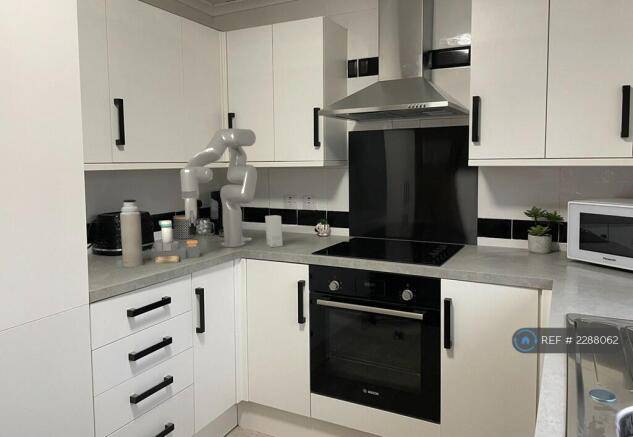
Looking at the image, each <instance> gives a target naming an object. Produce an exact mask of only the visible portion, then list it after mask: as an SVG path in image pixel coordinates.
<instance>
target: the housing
mask: <svg viewBox="0 0 633 437" xmlns="http://www.w3.org/2000/svg"><path fill="white" fill-rule="evenodd" d="M179 244H180V242H179V241H176V240H172V243H170V244H162V241H159V242H158V241H157V242H156V243H155V248H151V251H150V258H151V259H150V260H151V261H155V258H156V257H166V256H179V260H184V259H189V258H200V245H199V244H198V243H196V244H197V246H191V247H188V244H185V246H179Z"/></svg>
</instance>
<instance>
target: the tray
mask: <svg viewBox="0 0 633 437" xmlns="http://www.w3.org/2000/svg"><path fill="white" fill-rule="evenodd" d="M169 263H170V264H171V263H172V264H173V263H180V259H179V256H166V257H156V258H155V260H154V264H155V265H156V264H169Z"/></svg>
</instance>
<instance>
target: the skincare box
mask: <svg viewBox="0 0 633 437" xmlns="http://www.w3.org/2000/svg"><path fill="white" fill-rule="evenodd" d="M264 218H265V237H266V246H267V247H270V248H279V247H280V248H281V247H284V246H283V228H282V216H281V215H278V214H277V215H276V214H275V215H265V216H264Z"/></svg>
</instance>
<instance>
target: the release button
mask: <svg viewBox="0 0 633 437" xmlns="http://www.w3.org/2000/svg"><path fill="white" fill-rule="evenodd" d="M197 244H198V239H196V240H186V245H188V247H191V246H197Z"/></svg>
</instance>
